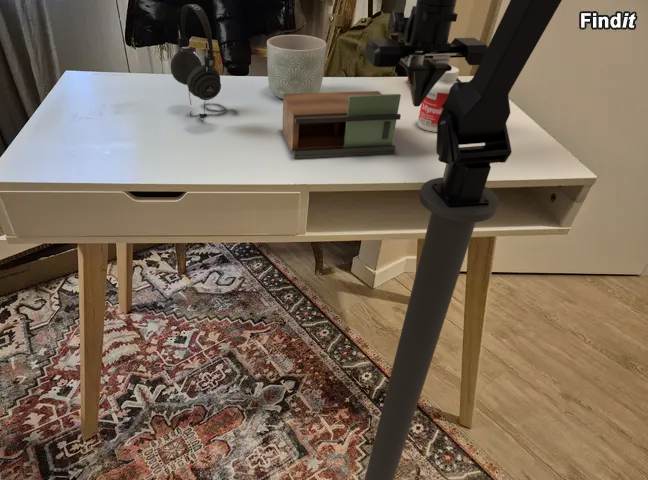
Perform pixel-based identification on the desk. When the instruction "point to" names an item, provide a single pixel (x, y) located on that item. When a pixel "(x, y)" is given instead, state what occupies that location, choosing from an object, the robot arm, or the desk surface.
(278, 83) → the planter
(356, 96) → the sliding door
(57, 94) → the desk surface
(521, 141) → the desk surface
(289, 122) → the cabinet
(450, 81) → the pill bottle
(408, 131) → the desk surface
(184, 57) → the headphones
